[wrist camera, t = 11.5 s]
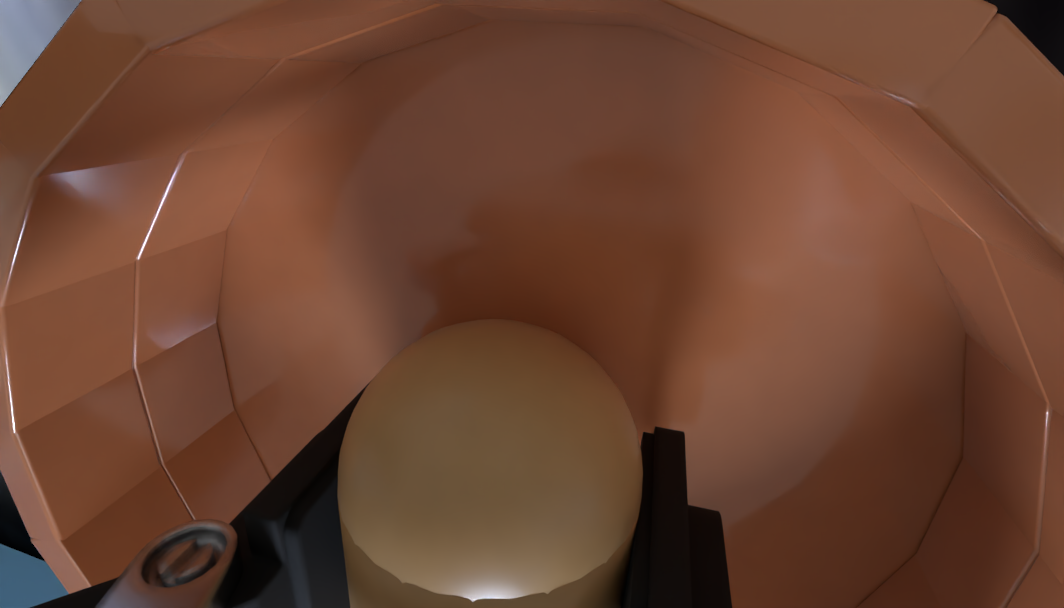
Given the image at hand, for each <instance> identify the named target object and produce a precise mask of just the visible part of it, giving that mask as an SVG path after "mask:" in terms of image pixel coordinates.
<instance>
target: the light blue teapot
mask: <svg viewBox="0 0 1064 608" xmlns="http://www.w3.org/2000/svg"><path fill="white" fill-rule="evenodd" d="M68 594H69V593H68V592H67V590H66V589H65V588H64V586H63V585H62V583H61V582H60V581H59V579H58V578H57V577H56V575H55V574H54V572H53V571H52V570H51V568H50V567H49V565H48V564H47V563H46V562H45V561H43V560H40V559H37V558H35V557H32V556H30V555H27V554H25V553H22V552H20V551H17V550H15V549H12V548H10V547H7V546H5V545H2V544H0V608H30V607H33V606H36V605H39V604H42V603H45V602H47V601H50V600H53V599H56V598H59V597H62V596H65V595H68Z"/></svg>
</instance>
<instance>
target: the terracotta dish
mask: <svg viewBox="0 0 1064 608" xmlns="http://www.w3.org/2000/svg"><path fill="white" fill-rule="evenodd" d="M997 9H998V8H997V7H996V6H995V5H994V4H992V3H990V2H988V1H985V0H82V1H81V2H80V3H79V4H78V6H77V7H76V8H75V10H74V11H73V12H72V14H71V15H70V16H69V18H68V19H67V20H66V22H65V23H64V24H63V26H62V27H61V28H60V29H59V31H58V32H57V33H56V35H55V36H54V37H53V39H52V40H51V41H50V43H49V44H48V45H47V47H46V48H45V49H44V51H43V52H42V53H41V54H40V56H39V57H38V58H37V60H36V61H35V62H34V64H33V65H32V66H31V68H30V69H29V70H28V72H27V73H26V74H25V76H24V77H23V78H22V80H21V81H20V82H19V83H18V85H17V86H16V87H15V89H14V90H13V91H12V93H11V94H10V95H9V97H8V98H7V99H6V101H5V102H4V103H3V105H2V106H1V107H0V471H1V473H2V476H3V478H4V480H5V482H6V485H7V487H8V489H9V491H10V494H11V496H12V498H13V500H14V503H15V505H16V507H17V509H18V512H19V514H20V516H21V519H22V521H23V523H24V525H25V528H26V530H27V532H28V534H29V536H30V537H31V539H30V540H31V542H32V543H33V545H34V546H35V547H36V549H37V550H38V552H39V553H40V554H41V556H42V557H43V558H44V560H45V561H46V563H47V564H48V565H49V567H50V568H51V570H52V571H53V572H54V574H55V575H56V577H57V578H58V579H59V581H60V582H61V583H62V585H63V586H64V588H65V589H66V590H67V592H68V593H69V594H71V593H74V592H77V591H79V590H82V589H85V588H88V587H91V586H94V585H97V584H100V583H103V582H106V581H109V580H112V579H114V578H117V577H119V576H120V575H121V574H122V572H123V571H124V570H125V569H126V567H127V566H128V565H129V563H130V562H131V561H132V560H133V558H134V557H135V556H136V555H137V553H138V552H139V551H140V550H141V549H142V548H143V547H144V546H145V545H146V544H147V543H148V542H150V541H151V540H152V539H154V538H155V537H157V536H158V535H160V534H161V533H163V532H164V531H167V530H169V529H171V528H173V527H175V526H177V525H179V524H183V523H187V522H190V521H194V520H202V519H214V520H220V521H224V522H225V523H227V524H229V523H230V522H231V521H232V520H233V519H234V518H235V517H236V516H237V515H238V514H239V513H240V512H241V511H242V510H243V509H244V508H245V507H246V506H247V505H248V504H249V503H250V502H251V501H252V500H253V499H254V498H255V497H256V496H257V495H258V494H259V493H260V492H261V491H262V490H263V489H264V488H265V487H266V486H267V485H268V484H269V483H270V481H271V480H272V479H273V478H274V477H275V476H276V475H277V474H278V473H279V472H280V471H281V470H282V469H283V468H284V467H285V466H286V465H287V464H288V463H289V462H290V461H291V460H292V459H293V458H294V457H295V456H296V455H297V454H298V453H299V452H300V451H301V450H302V449H303V448H304V447H305V446H306V445H307V444H308V443H309V442H310V441H311V440H312V439H313V438H314V437H315V436H316V435H317V434H318V433H319V432H321V431H322V430H324V429H325V428H326V427H327V426H328V424H329V423H330V422H331V421H332V420H333V419H334V418H335V417H336V416H337V415H338V414H339V413H340V412H341V411H342V410H343V409H344V408H345V407H346V406H347V405H348V404H349V403H350V402H351V401H352V400H353V399H354V398H355V397H356V396H357V395H358V394H359V393H360V392H361V391H362V390H363V389H364V388H365V387H366V385H367V384H368V383H369V382H370V381H371V380H372V379H373V378H374V377H375V376H376V375H377V374H378V373H379V371H380V370H381V369H382V368H383V367H384V366H385V365H386V364H387V363H388V362H389V361H390V360H391V359H392V358H393V357H394V356H396V355H397V354H398V353H399V352H400V351H402V350H403V349H404V348H406V347H407V346H409V345H411V344H412V343H414V342H416V341H417V340H419V339H421V338H422V337H424V336H426V335H428V334H430V333H431V332H433V331H436V330H438V329H441V328H444V327H447V326H450V325H454V324H458V323H463V322H469V321H475V320H482V319H506V320H514V321H519V322H524V323H528V324H532V325H536V326H539V327H542V328H545V329H548V330H550V331H553V332H555V333H557V334H560V335H561V336H563V337H565V338H566V339H568V340H569V341H571V342H572V343H574V344H575V345H577V346H578V347H579V348H581V349H582V350H584V351H585V352H587V353H588V354H589V355H590V356H591V357H592V358H593V359H594V360H596V361H597V362H598V363H599V365H600V366H601V367H602V368H603V370H604V371H605V372H606V373H607V374H608V376H609V377H610V378H611V379H612V381H613V382H614V384H615V385H616V386H617V388H618V389H619V390H620V392H621V394H622V396H623V398H624V400H625V402H626V405H627V407H628V409H629V411H630V413H631V416H632V418H633V421H634V424H635V426H636V429H637V433H638V438H639V443H640V446H641V440H642V434H643V432H647V433H654V429H655V426H657V427H662V428H667V429H673V430H678V431H683V432H684V433H685V451H686V475H687V499H688V505H692V506H696V507H701V508H706V509H711V510H715V511H719V512H720V514H721V518H722V525H723V533H724V542H725V550H726V559H727V567H728V576H729V584H730V593H731V601H732V608H1064V75H1063V74H1062V73H1061V72H1060V71H1059V70H1058V69H1057V68H1056V67H1055V66H1054V65H1053V64H1052V63H1051V62H1050V61H1049V60H1048V59H1047V58H1046V57H1045V56H1044V55H1043V53H1042V52H1041V51H1040V50H1039V49H1038V48H1037V47H1036V46H1035V45H1034V44H1033V43H1032V42H1031V41H1030V40H1029V39H1028V38H1027V37H1026V36H1025V35H1024V34H1023V33H1022V32H1021V31H1020V30H1019V29H1018V28H1017V27H1016V26H1015V24H1014V23H1013V22H1012V21H1011V20H1010V19H1009V18H1008V17H1007V16H1006V15H1003V14H999V13H996V12H997Z"/></svg>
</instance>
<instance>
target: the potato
mask: <svg viewBox="0 0 1064 608" xmlns="http://www.w3.org/2000/svg"><path fill="white" fill-rule="evenodd" d="M642 482H643V467H642V454H641V448H640V443H639V438H638V433H637V429H636V426H635V424H634V421H633V418H632V416H631V413H630V411H629V409H628V407H627V405H626V402H625V400H624V398H623V396H622V394H621V392H620V390H619V389H618V388H617V386H616V385H615V384H614V382H613V381H612V379H611V378H610V377H609V376H608V374H607V373H606V372H605V371H604V370H603V368H602V367H601V366H600V365H599V363H598V362H597V361H596V360H594V359H593V358H592V357H591V356H590V355H589V354H588V353H587V352H585V351H584V350H582V349H581V348H579V347H578V346H577V345H575V344H574V343H572V342H571V341H569V340H568V339H566V338H565V337H563V336H561V335H560V334H557V333H555V332H553V331H550V330H548V329H545V328H542V327H539V326H536V325H532V324H528V323H524V322H519V321H514V320H506V319H482V320H475V321H469V322H463V323H458V324H454V325H450V326H447V327H444V328H441V329H438V330H436V331H433V332H431V333H430V334H428V335H426V336H424V337H422V338H421V339H419V340H417V341H416V342H414V343H412V344H411V345H409V346H407V347H406V348H404V349H403V350H402V351H400V352H399V353H398V354H397V355H396V356H394V357H393V358H392V359H391V360H390V361H389V362H388V363H387V364H386V365H385V366H384V367H383V368H382V369H381V370H380V371H379V373H378V374H377V375H376V376H375V377H374V378H373V380H372V381H371V382H370V384H369V385H368V386H367V387H366V389H365V391H364V393H363V394H362V396H361V398H360V400H359V401H358V403H357V405H356V407H355V408H354V410H353V413H352V415H351V418H350V420H349V422H348V425H347V428H346V431H345V435H344V438H343V442H342V445H341V449H340V455H339V466H338V489H337V492H338V494H337V498H338V507H339V516H340V524H341V533H342V541H343V549H344V558H345V566H346V575H347V583H348V592H349V600H350V608H621V605H622V600H623V594H624V589H625V584H626V578H627V573H628V567H629V562H630V557H631V551H632V546H633V540H634V535H635V529H636V524H637V520H638V516H639V511H640V504H641V498H642Z"/></svg>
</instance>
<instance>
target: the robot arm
mask: <svg viewBox="0 0 1064 608" xmlns="http://www.w3.org/2000/svg"><path fill="white" fill-rule="evenodd" d="M372 380H373V379H372ZM372 380H371V381H372ZM371 381H370V382H371ZM370 382H369V383H368V384H367V385H366V387H367V386H368V385H369V384H370ZM366 387H365V388H364V389H363V390H362V391H361V392H360V393H359V394H358V395H357V396H356V397H355V398H354V399H353V400H352V401H351V402H350V403H349V404H348V405H347V406H346V407H345V408H344V409H343V410H342V411H341V412H340V413H339V414H338V415H337V416H336V417H335V418H334V419H333V420H332V421H331V422H330V423H329V424H328V426H327V427H326V428H325V429H324V430H322V431H321V432H319V433H318V434H317V435H316V436H315V437H314V438H313V439H312V440H311V441H310V442H309V443H308V444H307V445H306V446H305V447H304V448H303V449H302V450H301V451H300V452H299V453H298V454H297V455H296V456H295V457H294V458H293V459H292V460H291V461H290V462H289V463H288V464H287V465H286V466H285V467H284V468H283V469H282V470H281V471H280V472H279V473H278V474H277V475H276V476H275V477H274V478H273V479H272V480H271V481H270V483H269V484H268V485H267V486H266V487H265V488H264V489H263V490H262V491H261V492H260V493H259V494H258V495H257V496H256V497H255V498H254V499H253V500H252V501H251V502H250V503H249V504H248V505H247V506H246V507H245V508H244V509H243V510H242V511H241V512H240V513H239V514H238V515H237V516H236V517H235V518H234V519H233V520H232V521H231V522H230V523H229V524H227V523H225V522H224V521H220V520H214V519H202V520H194V521H190V522H187V523H183V524H179V525H177V526H175V527H173V528H171V529H169V530H167V531H164V532H163V533H161V534H160V535H158V536H157V537H155V538H154V539H152V540H151V541H150V542H148V543H147V544H146V545H145V546H144V547H143V548H142V549H141V550H140V551H139V552H138V553H137V555H136V556H135V557H134V558H133V560H132V561H131V562H130V563H129V565H128V566H127V567H126V569H125V570H124V571H123V572H122V574H121V575H120V576H119V577H117V578H114V579H112V580H109V581H106V582H103V583H100V584H97V585H94V586H91V587H88V588H85V589H82V590H79V591H77V592H74V593H71V594H68V595H65V596H62V597H59V598H56V599H53V600H50V601H47V602H45V603H42V604H39V605H36V606H33V607H30V608H350V600H349V592H348V583H347V575H346V566H345V558H344V549H343V541H342V533H341V524H340V516H339V507H338V498H337V494H338V492H337V489H338V466H339V455H340V449H341V445H342V442H343V438H344V435H345V431H346V428H347V425H348V422H349V420H350V418H351V415H352V413H353V410H354V408H355V407H356V405H357V403H358V401H359V400H360V398H361V396H362V394H363V393H364V391H365V389H366ZM640 448H641V454H642V467H643V482H642V498H641V504H640V511H639V516H638V520H637V524H636V529H635V535H634V540H633V546H632V551H631V557H630V562H629V567H628V573H627V578H626V584H625V589H624V594H623V600H622V605H621V608H732V601H731V593H730V584H729V576H728V567H727V559H726V550H725V542H724V533H723V525H722V518H721V514H720V512H719V511H715V510H711V509H706V508H701V507H696V506H692V505H688V499H687V475H686V451H685V433H684V432H683V431H678V430H673V429H667V428H662V427H657V426H655V429H654V433H647V432H643V434H642V440H641V446H640Z"/></svg>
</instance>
